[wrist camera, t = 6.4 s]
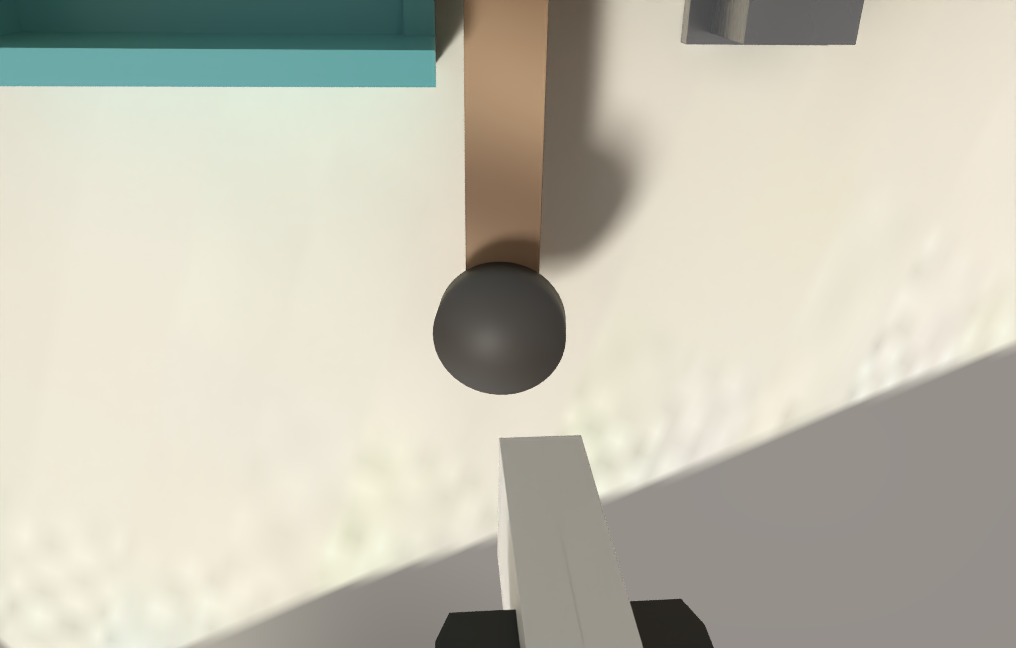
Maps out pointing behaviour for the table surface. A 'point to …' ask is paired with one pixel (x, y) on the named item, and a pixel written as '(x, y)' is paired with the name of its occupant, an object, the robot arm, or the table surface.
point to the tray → (218, 43)
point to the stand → (771, 22)
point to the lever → (502, 209)
